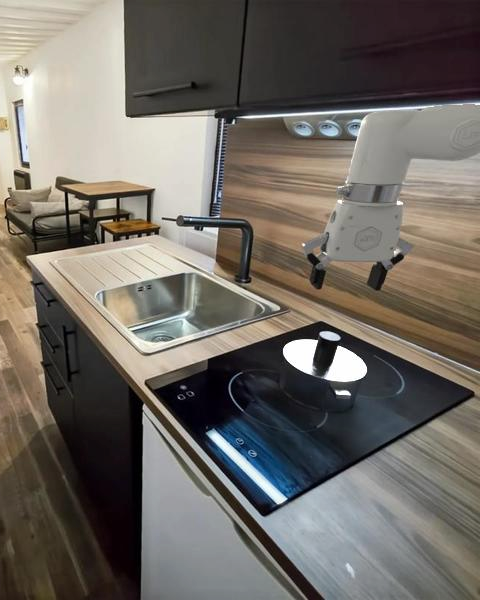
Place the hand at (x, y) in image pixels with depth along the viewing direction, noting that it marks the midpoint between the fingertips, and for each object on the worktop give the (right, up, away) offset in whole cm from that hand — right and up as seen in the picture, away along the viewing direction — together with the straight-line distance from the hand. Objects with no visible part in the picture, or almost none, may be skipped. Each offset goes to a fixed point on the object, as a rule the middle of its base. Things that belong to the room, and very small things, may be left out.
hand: (344, 287), depth 68 cm
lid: (+1, -15, +7) cm, 17 cm away
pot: (+1, -22, +10) cm, 24 cm away
